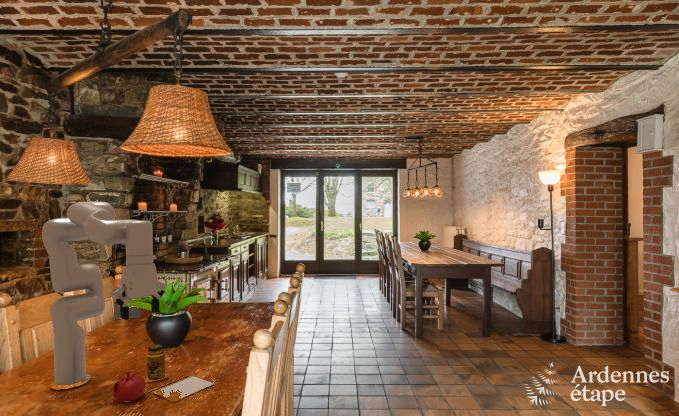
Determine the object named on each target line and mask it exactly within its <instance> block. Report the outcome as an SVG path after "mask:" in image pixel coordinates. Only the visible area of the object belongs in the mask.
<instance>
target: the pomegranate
mask: <svg viewBox="0 0 679 416" xmlns="http://www.w3.org/2000/svg"><path fill="white" fill-rule="evenodd" d="M122 375H123V376H124V377H118V378H116V382H115V384H114V385H113V387H112V396H113V398H114V400H115V401H116V402H118V401H119V402H118V403H120V402H124V401H133V402H135V401H137V400H138V399H139V397H140V398H141V397H142V396H143V394H144V393H145V390H146V383H147V382H146V379H145V377H144V378H143V377H141V376H140V375H141V373H139V372H131V371H130V370H128V371H126V374H125V373H123V374H122ZM136 399H137V400H136ZM134 400H135V401H134Z"/></svg>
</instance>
